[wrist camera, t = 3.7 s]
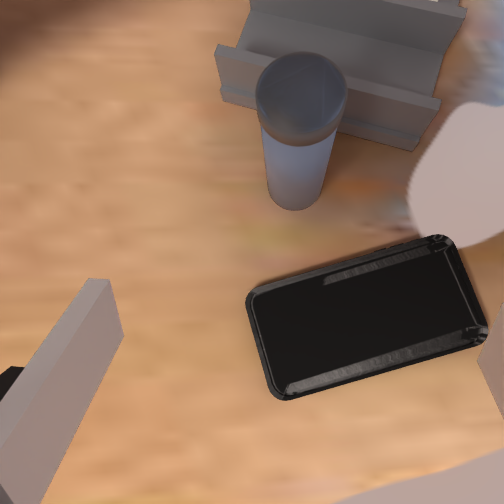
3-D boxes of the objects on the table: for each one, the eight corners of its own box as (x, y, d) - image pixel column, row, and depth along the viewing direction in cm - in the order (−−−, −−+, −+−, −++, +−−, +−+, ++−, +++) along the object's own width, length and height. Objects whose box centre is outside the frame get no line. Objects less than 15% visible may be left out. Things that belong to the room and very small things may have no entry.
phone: (494, 340, 26) (273, 405, 27) (486, 340, 28) (273, 402, 28) (448, 228, 28) (240, 290, 28) (442, 232, 29) (242, 292, 29)
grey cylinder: (259, 202, 30) (242, 121, 19) (276, 152, 31) (271, 42, 19) (313, 218, 30) (332, 145, 18) (330, 166, 30) (358, 63, 19)
